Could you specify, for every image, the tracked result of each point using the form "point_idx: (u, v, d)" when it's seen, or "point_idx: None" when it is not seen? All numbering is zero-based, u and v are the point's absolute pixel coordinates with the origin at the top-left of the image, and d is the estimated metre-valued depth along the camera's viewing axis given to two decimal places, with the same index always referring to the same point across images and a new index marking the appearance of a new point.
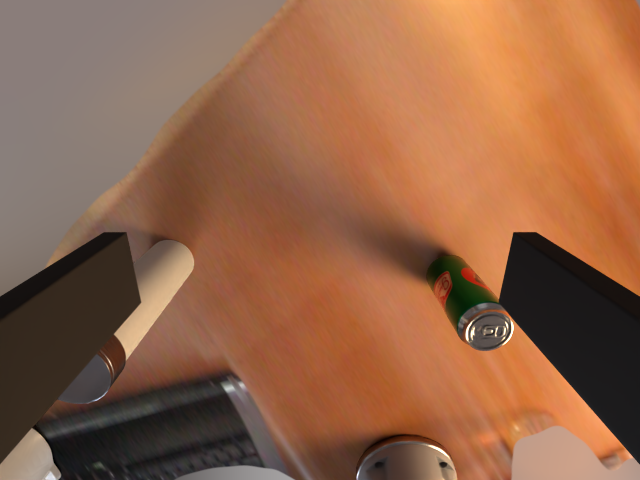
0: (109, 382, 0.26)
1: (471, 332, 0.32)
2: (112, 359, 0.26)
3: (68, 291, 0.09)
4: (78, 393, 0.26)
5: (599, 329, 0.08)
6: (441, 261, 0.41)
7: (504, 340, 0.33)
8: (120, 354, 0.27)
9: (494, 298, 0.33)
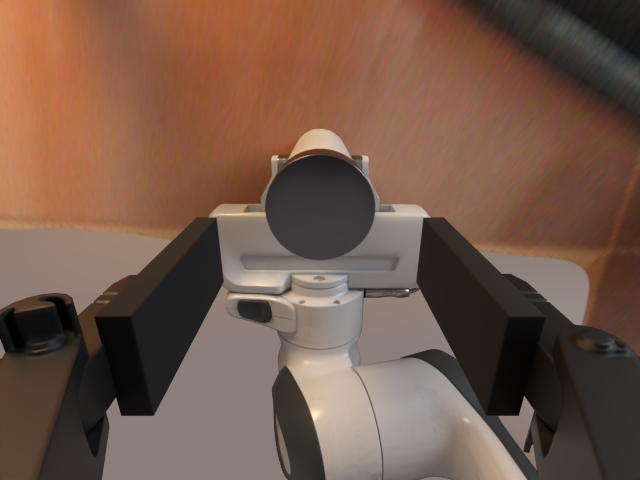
0: (295, 161, 0.18)
1: None
2: (275, 176, 0.19)
3: (190, 264, 0.11)
4: (344, 182, 0.18)
5: (462, 294, 0.10)
6: None
7: None
8: (280, 168, 0.20)
9: None
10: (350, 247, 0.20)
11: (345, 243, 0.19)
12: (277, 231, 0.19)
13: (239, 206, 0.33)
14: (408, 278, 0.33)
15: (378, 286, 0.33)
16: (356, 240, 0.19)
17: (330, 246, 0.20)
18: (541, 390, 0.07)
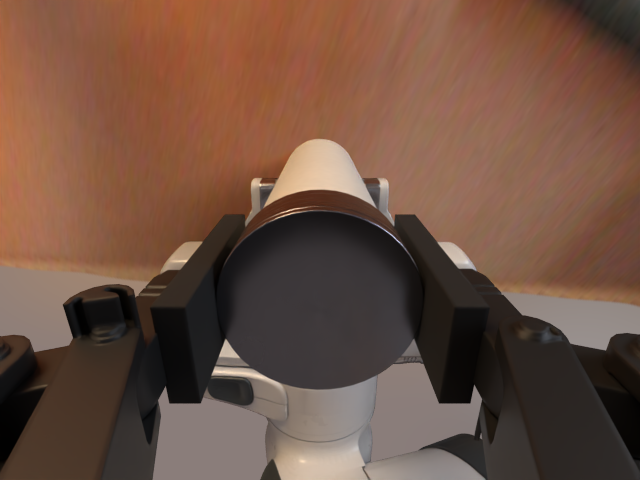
0: (271, 223, 0.09)
1: None
2: None
3: (225, 259, 0.11)
4: (366, 262, 0.09)
5: None
6: None
7: None
8: (246, 226, 0.11)
9: None
10: (375, 369, 0.11)
11: (365, 363, 0.11)
12: (240, 344, 0.10)
13: None
14: None
15: None
16: (386, 358, 0.11)
17: (338, 368, 0.11)
18: (486, 379, 0.08)
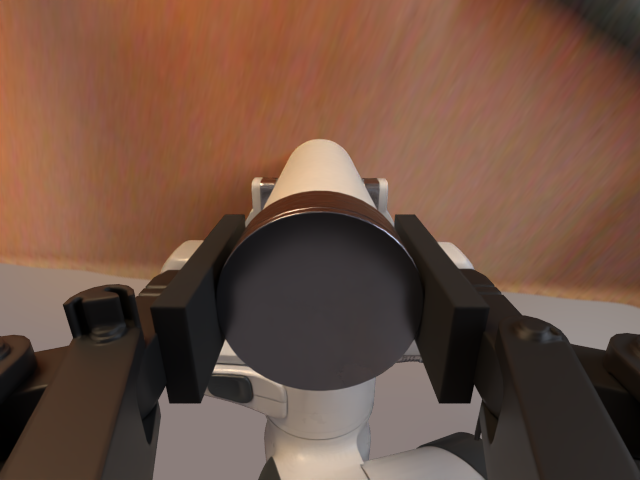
0: (224, 333, 0.10)
1: None
2: None
3: (225, 259, 0.11)
4: (273, 263, 0.09)
5: None
6: None
7: None
8: None
9: None
10: (408, 269, 0.09)
11: (397, 278, 0.10)
12: (344, 380, 0.11)
13: None
14: None
15: None
16: (397, 257, 0.09)
17: (396, 305, 0.10)
18: (486, 379, 0.08)
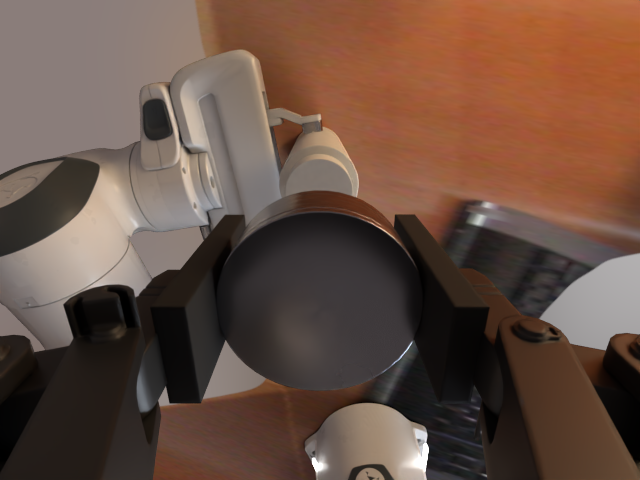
0: (224, 333, 0.10)
1: None
2: None
3: (225, 259, 0.11)
4: (273, 262, 0.09)
5: None
6: None
7: None
8: None
9: None
10: (408, 269, 0.09)
11: (397, 278, 0.10)
12: (344, 380, 0.11)
13: (263, 83, 0.32)
14: None
15: None
16: (397, 257, 0.09)
17: (396, 305, 0.10)
18: (486, 379, 0.08)
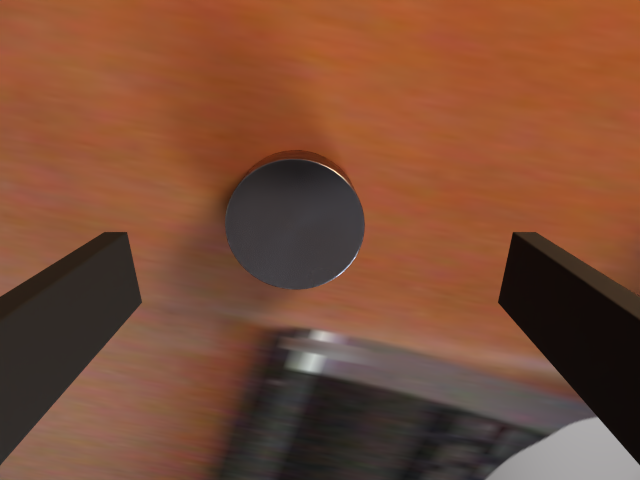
0: (231, 246, 0.15)
1: None
2: None
3: (69, 291, 0.09)
4: (263, 194, 0.14)
5: (598, 329, 0.08)
6: None
7: None
8: None
9: None
10: (352, 198, 0.14)
11: (346, 204, 0.15)
12: (314, 281, 0.16)
13: None
14: None
15: None
16: (344, 190, 0.14)
17: (346, 224, 0.15)
18: None
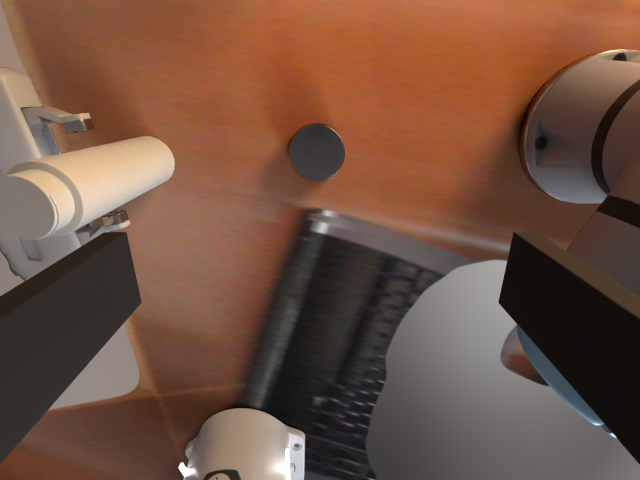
0: (291, 160, 0.38)
1: None
2: None
3: (68, 291, 0.09)
4: (305, 139, 0.37)
5: (599, 329, 0.08)
6: None
7: None
8: None
9: None
10: (339, 140, 0.37)
11: (337, 143, 0.37)
12: (324, 177, 0.38)
13: (31, 99, 0.32)
14: (26, 273, 0.36)
15: (6, 249, 0.35)
16: (336, 137, 0.37)
17: (337, 151, 0.37)
18: None
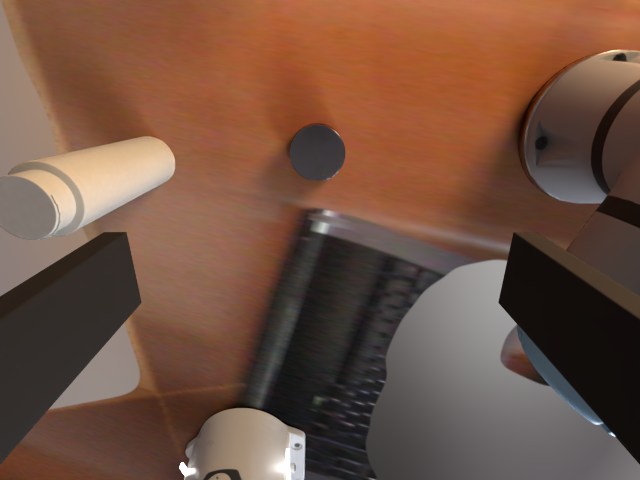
0: (291, 161, 0.38)
1: None
2: None
3: (68, 291, 0.09)
4: (305, 139, 0.37)
5: (599, 329, 0.08)
6: None
7: None
8: None
9: None
10: (340, 141, 0.37)
11: (337, 143, 0.37)
12: (324, 177, 0.38)
13: None
14: None
15: None
16: (337, 137, 0.37)
17: (337, 151, 0.37)
18: None
